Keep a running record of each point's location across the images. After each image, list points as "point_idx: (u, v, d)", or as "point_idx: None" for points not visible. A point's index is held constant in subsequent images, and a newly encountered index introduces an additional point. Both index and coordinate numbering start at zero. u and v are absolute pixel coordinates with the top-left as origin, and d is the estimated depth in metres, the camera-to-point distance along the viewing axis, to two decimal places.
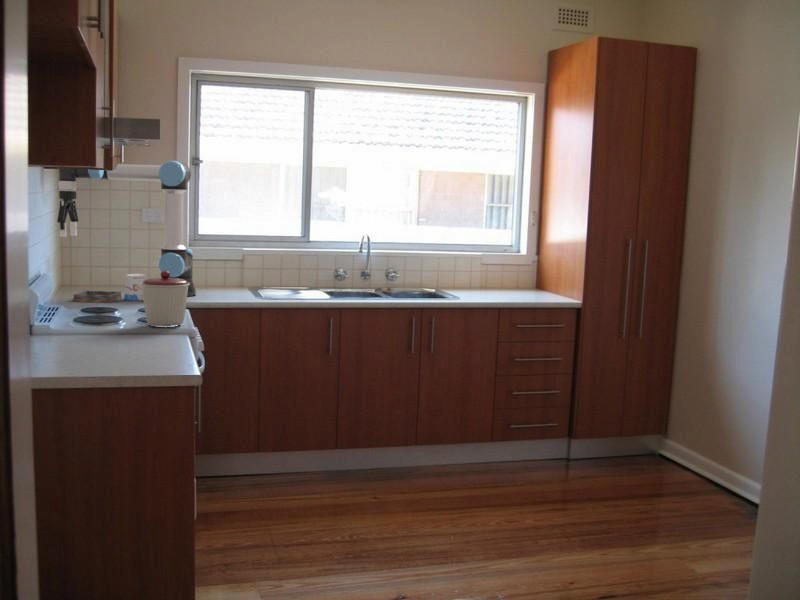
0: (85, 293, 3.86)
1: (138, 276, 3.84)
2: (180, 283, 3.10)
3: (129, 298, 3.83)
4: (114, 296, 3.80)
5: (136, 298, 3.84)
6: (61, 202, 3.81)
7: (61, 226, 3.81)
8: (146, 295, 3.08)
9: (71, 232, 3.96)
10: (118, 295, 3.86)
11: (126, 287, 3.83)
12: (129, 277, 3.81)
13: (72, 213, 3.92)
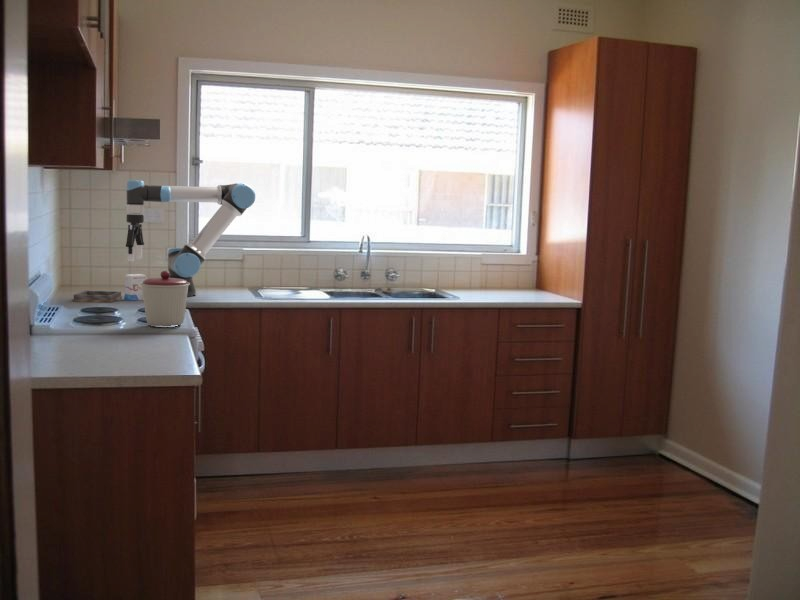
0: (85, 293, 3.86)
1: (138, 276, 3.84)
2: (180, 283, 3.10)
3: (129, 298, 3.83)
4: (114, 296, 3.80)
5: (136, 298, 3.84)
6: (129, 226, 3.76)
7: (129, 250, 3.76)
8: (146, 295, 3.08)
9: (137, 256, 3.91)
10: (118, 295, 3.86)
11: (126, 287, 3.83)
12: (129, 277, 3.81)
13: (138, 236, 3.87)
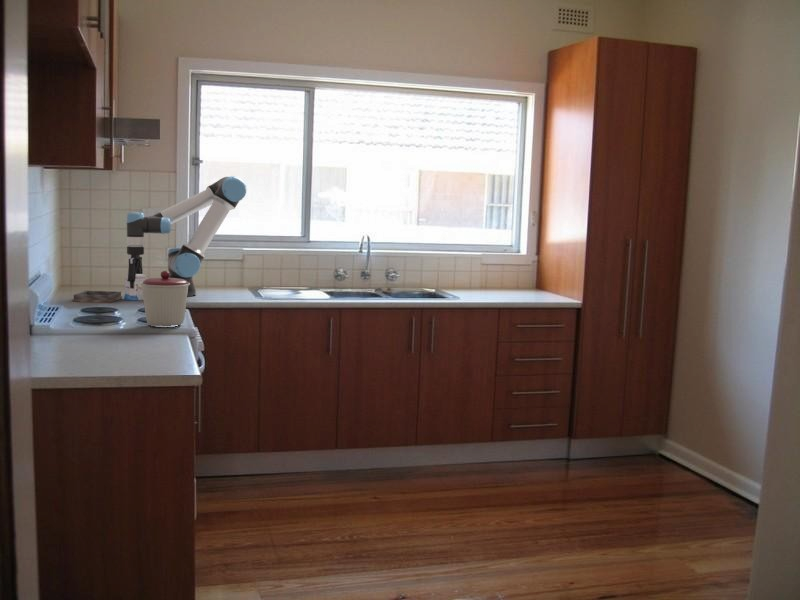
0: (85, 293, 3.86)
1: (138, 276, 3.84)
2: (180, 283, 3.10)
3: (129, 298, 3.83)
4: (114, 296, 3.80)
5: (136, 298, 3.84)
6: (130, 260, 3.78)
7: (131, 285, 3.79)
8: (146, 295, 3.08)
9: None
10: (118, 295, 3.86)
11: (126, 287, 3.83)
12: None
13: (138, 269, 3.88)
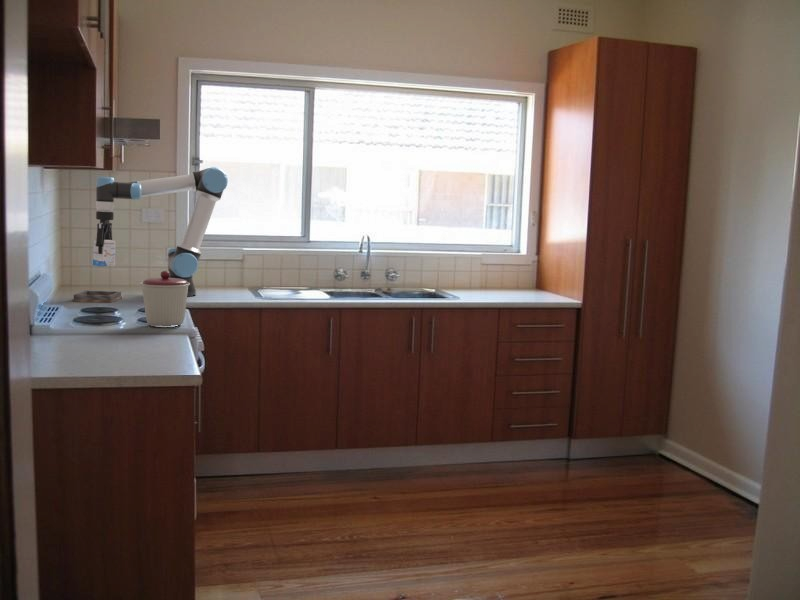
0: (85, 293, 3.86)
1: (107, 242, 3.78)
2: (180, 283, 3.10)
3: (97, 264, 3.77)
4: (114, 296, 3.80)
5: (104, 264, 3.79)
6: (98, 225, 3.72)
7: (99, 250, 3.74)
8: (146, 295, 3.08)
9: None
10: (118, 295, 3.86)
11: (94, 252, 3.77)
12: None
13: (108, 235, 3.82)
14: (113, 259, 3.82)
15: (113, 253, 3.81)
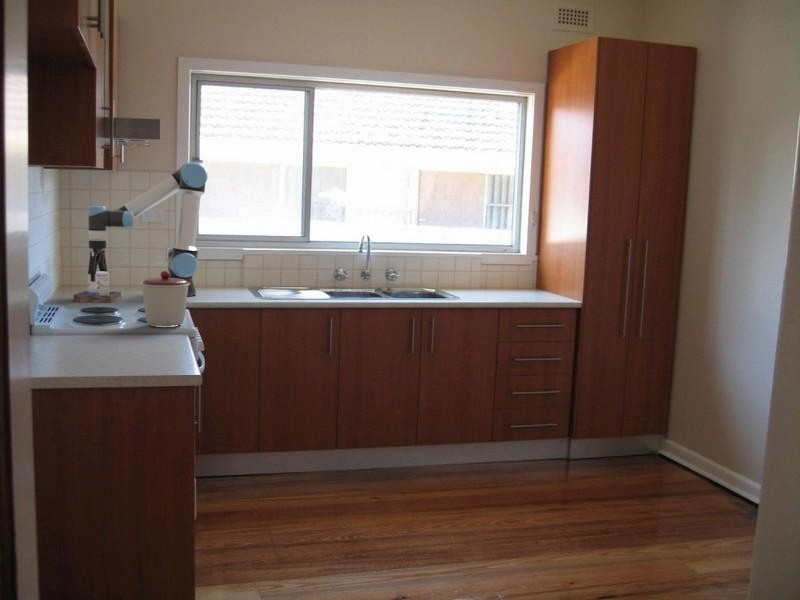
0: (85, 293, 3.86)
1: (100, 274, 3.79)
2: (180, 283, 3.10)
3: None
4: (114, 296, 3.80)
5: None
6: (91, 253, 3.73)
7: (92, 278, 3.73)
8: (146, 295, 3.08)
9: None
10: (118, 295, 3.86)
11: (88, 285, 3.78)
12: None
13: (101, 263, 3.84)
14: (107, 291, 3.82)
15: (107, 285, 3.82)
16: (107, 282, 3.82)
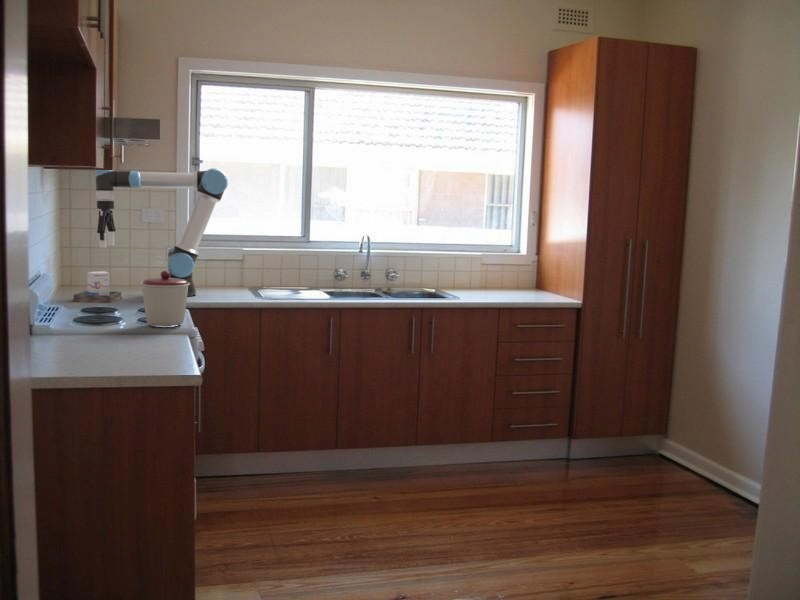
0: (85, 293, 3.86)
1: (100, 274, 3.79)
2: (180, 283, 3.10)
3: None
4: (114, 296, 3.80)
5: None
6: (100, 212, 3.75)
7: (101, 237, 3.75)
8: (146, 295, 3.08)
9: (109, 242, 3.90)
10: (118, 295, 3.86)
11: (88, 285, 3.78)
12: (91, 274, 3.77)
13: (110, 223, 3.86)
14: (107, 291, 3.82)
15: (107, 285, 3.82)
16: (107, 282, 3.82)
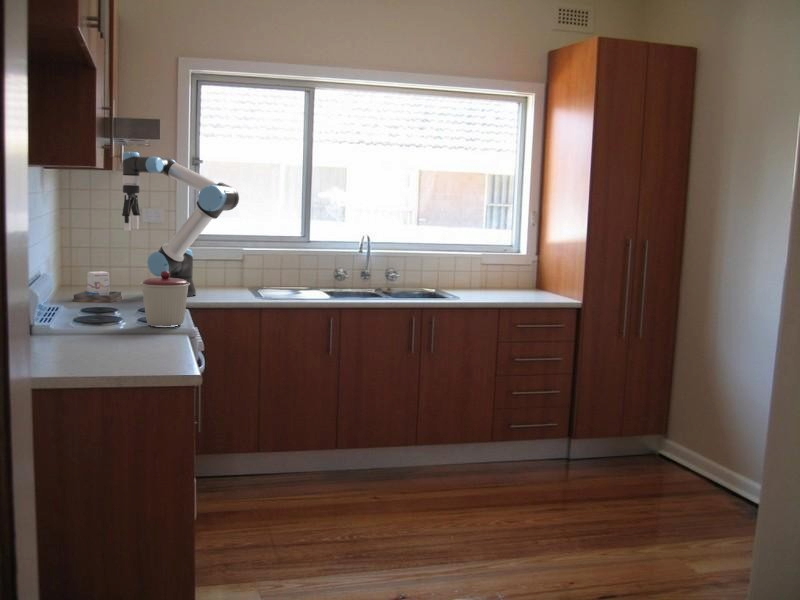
0: (85, 293, 3.86)
1: (100, 274, 3.79)
2: (180, 283, 3.10)
3: None
4: (114, 296, 3.80)
5: None
6: (126, 196, 3.89)
7: (126, 219, 3.89)
8: (146, 295, 3.08)
9: (133, 226, 4.04)
10: (118, 295, 3.86)
11: (88, 285, 3.78)
12: (91, 274, 3.77)
13: (134, 207, 4.00)
14: (107, 291, 3.82)
15: (107, 285, 3.82)
16: (107, 282, 3.82)
